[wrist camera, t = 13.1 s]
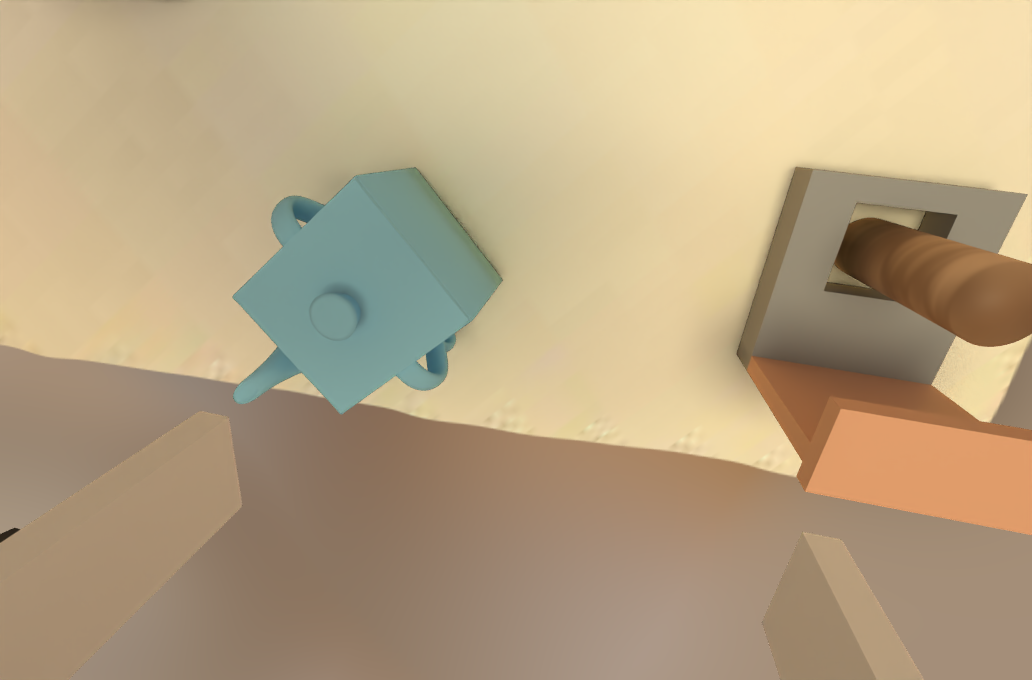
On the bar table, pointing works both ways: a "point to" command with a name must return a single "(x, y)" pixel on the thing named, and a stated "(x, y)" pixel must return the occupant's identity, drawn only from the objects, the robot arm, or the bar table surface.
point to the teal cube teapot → (365, 289)
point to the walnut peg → (942, 280)
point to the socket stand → (879, 361)
